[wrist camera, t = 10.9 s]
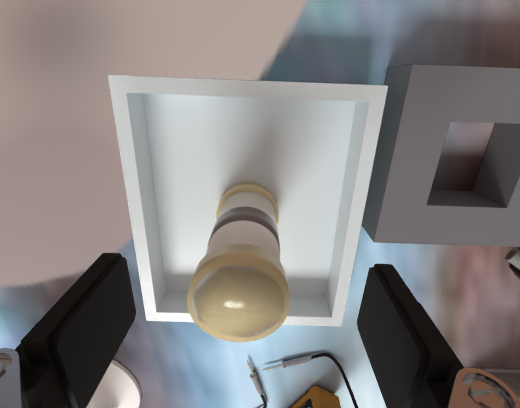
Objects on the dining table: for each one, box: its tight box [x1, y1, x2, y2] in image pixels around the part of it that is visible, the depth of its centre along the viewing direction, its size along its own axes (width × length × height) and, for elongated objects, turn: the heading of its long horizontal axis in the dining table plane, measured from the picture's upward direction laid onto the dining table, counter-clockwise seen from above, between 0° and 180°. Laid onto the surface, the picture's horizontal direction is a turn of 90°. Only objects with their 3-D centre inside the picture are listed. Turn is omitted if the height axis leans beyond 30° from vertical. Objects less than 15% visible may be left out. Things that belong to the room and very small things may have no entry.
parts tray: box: [108, 75, 388, 326], centre depth 19 cm, size 16×14×3 cm
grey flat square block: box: [361, 64, 520, 247], centre depth 17 cm, size 10×10×3 cm
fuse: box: [187, 182, 290, 342], centre depth 15 cm, size 4×4×9 cm
